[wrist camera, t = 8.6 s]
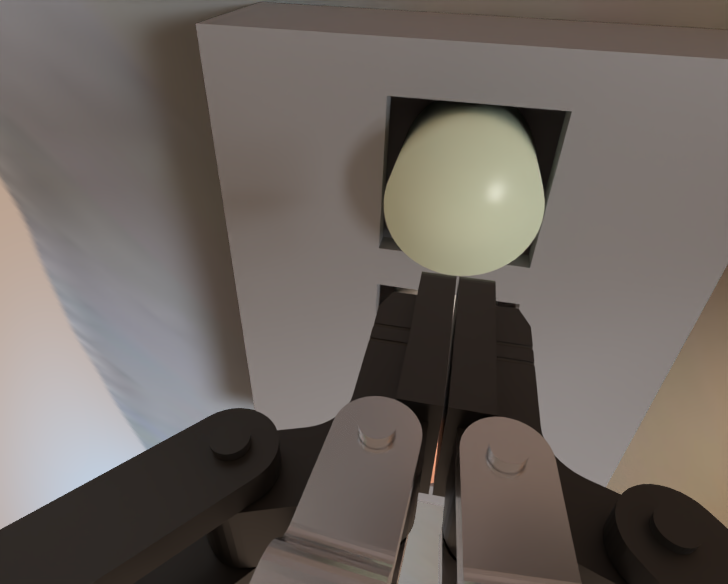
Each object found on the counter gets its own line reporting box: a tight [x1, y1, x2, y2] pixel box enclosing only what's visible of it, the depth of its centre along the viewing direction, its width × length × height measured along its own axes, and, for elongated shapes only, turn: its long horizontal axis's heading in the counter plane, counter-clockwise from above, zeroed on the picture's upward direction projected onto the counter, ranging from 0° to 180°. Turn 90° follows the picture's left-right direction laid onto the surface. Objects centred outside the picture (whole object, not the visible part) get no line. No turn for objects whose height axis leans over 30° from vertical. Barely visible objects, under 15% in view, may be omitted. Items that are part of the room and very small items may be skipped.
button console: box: [195, 2, 728, 507], centre depth 21 cm, size 16×21×5 cm
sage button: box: [384, 100, 545, 276], centre depth 16 cm, size 4×4×4 cm
